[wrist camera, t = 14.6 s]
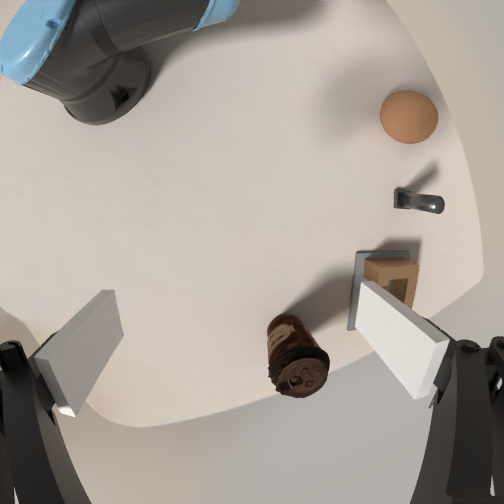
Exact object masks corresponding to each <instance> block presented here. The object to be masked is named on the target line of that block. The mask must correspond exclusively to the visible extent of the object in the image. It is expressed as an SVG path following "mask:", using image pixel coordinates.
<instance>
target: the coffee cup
mask: <svg viewBox="0 0 504 504" xmlns="http://www.w3.org/2000/svg"><path fill="white" fill-rule="evenodd" d="M267 336H268V342H267V344H268V362H269V367H268V370H269V376H268V377H270V378H271V380H272V383H273V384H274V385H275V386H276V389H275V390H276V391H277V392H280V393H281V394H282V395H287V396H291V397H294V398H305V397H307V396H310V395H312V394H313V393H315V392H317V391H318V390H319V389H320V388H322V386H323V385H324V384H325V382H326V380H327V376H328V371H329V366H330V359H329V356H328V354H327V353H326V352H325V351H324V350H322V349H321V348H320V347H319V345H318V344H317V342H316V341H315V339H314V338H313V337H312V335H311V334H310V332H309V331H308V330H307V328H306V327H305V326H304V324H303V323H302V322H301V320H299V319H298V318H297V317H295V316H293V315H289V314H286V315H282V316H279V317H277V318H275V319H274V320H273V321H272V322H271V323H270V325H269V326H268V329H267Z"/></svg>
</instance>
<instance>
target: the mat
mask: <svg viewBox="0 0 504 504" xmlns="http://www.w3.org/2000/svg"><path fill="white" fill-rule="evenodd" d="M409 255H410V252H409V251H393V252H364V253H356V257H355V268H354V278H353V287H352V296H351V303H350V311H349V318H348V325H347V330H348V331H351V330H357V329H356V328H355V322H356V316H357V309H358V303H359V295H360V287H361V282H368V280H367V279H365V278H364V277H363V272H364V262H365V259H378V258H397V257H404V258H406V259H408V260H409ZM390 285H391V280H389V283H388V286H384V287H382V288H383V289H385V290H386V291H387V292H389V291H390Z"/></svg>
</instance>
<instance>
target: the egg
mask: <svg viewBox="0 0 504 504" xmlns="http://www.w3.org/2000/svg"><path fill="white" fill-rule="evenodd" d="M380 119H381V123H382V125H383V128H384V130H385V131H386V132H387V133H388V135H389V136H391V137H392V138H393V139H395V140H397V141H399V142H401V143H407V144H413V143H419V142H421V141H424V140H425V139H427V138H428V137H429V136H430V135H431V134H432V133H433V132H434V130H435V129H436V126H437V123H438V113H437V110H436V107H435V106H434V104H433V103H432V102H431V100H430V99H428V98H427V97H425V96H424V95H422V94H419V93H417V92H412V91H401V92H397V93H395V94H393V95H391V96H389V97H388V98H387V99H386V100H385V102H384V103H383V105H382V107H381V111H380Z"/></svg>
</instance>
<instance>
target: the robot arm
mask: <svg viewBox="0 0 504 504" xmlns="http://www.w3.org/2000/svg"><path fill="white" fill-rule="evenodd" d="M239 3H240V0H27V1H26V2H25V3H24V4H23V5H22V6H21V7H20V9H19V10H18V11H17V12H16V14H15V15H14V17H13V18H12V20H11V21H10V23H9V25H8V26H7V28H6V30H5V32H4V34H3V36H2V39H1V41H0V72H1V73H2V74H3V75H4V76H6V77H8V78H10V79H11V80H13V81H14V82H15V83H17V84H18V85H23V86H26V87H28V88H31V89H34V90H36V91H39V92H41V93H44V94H47V95H49V96H52V97H54V98H57V99H59V100H60V101H61V103H62V104H63V105H64V106H65V108H66V110H67V112H68V113H69V114H70V115H71V116H72V117H73V118H74V119H76V120H78V121H80V122H83V123H85V124H89V125H102V124H106V123H109V122H112V121H114V120H116V119H118V118H120V117H121V116H123V115H124V114H125V113H127V112H128V111H129V110H130V109H131V108H132V107H133V106H134V105H135V104H136V103H137V102H138V101H139V99H140V98H141V96H142V95H143V93H144V91H145V89H146V87H147V85H148V82H149V78H150V62H149V59H148V57H147V55H146V53H145V52H144V50H143V49H142V48H141V46H144V45H146V44H149V43H152V42H155V41H158V40H161V39H164V38H167V37H171V36H174V35H177V34H181V33H184V32H188V31H192V32H193V31H197V30H199V29H200V28H202V27H205V26H209V25H213V24H217V23H221V22H224V21H226V20H228V19H229V18H230V17H231V16H232V15H233V14H234V13H235V11H236V10H237V8H238V6H239ZM355 328H356V329H357V330H358V331H359V332H360V333H361V335H362V336H363V337H364V338H365V339H366V341H367V342H368V343H369V344H370V345H371V347H372V348H373V349H374V350H375V351H376V353H377V354H378V355H379V356H380V357H381V358H382V360H383V361H384V362H385V363H386V365H387V366H388V367H389V368H390V370H391V371H392V372H393V373H394V374H395V376H396V377H397V378H398V380H399V381H400V382H401V383H402V384H403V386H404V387H405V388H406V389H407V391H408V392H409V393H410V394H411V396H412V397H413V398H414V400H416V399H418V398H421V397H424V396H426V395H428V394H429V392H430V390H431V388H432V385H433V383H434V384H435V386H436V387H438V389H437V391H436V393H435V395H434V397H433V399H432V401H431V403H430V406H429V408H431V406H432V405H433V404H434V406H433V413H432V419H431V425H430V431H429V436H428V441H427V446H426V450H425V455H424V459H423V463H422V467H421V470H420V474H419V477H418V480H417V484H416V487H415V490H414V493H413V496H412V499H411V502H410V504H504V337H503V336H501V337H499V336H497V337H494V338H492V340H491V343H490V346H489V348H481V347H480V346H479V345H478V344H477V343H475V342H473V341H470V340H459V341H456V340H454V339H453V338H452V337H450V336H449V335H448V334H447V333H445V332H444V331H443V330H440V328H439V327H438V326H435V324H433V323H432V322H431V321H430V320H428V319H426V318H424V317H421V316H420V315H418V314H417V313H416V312H414V311H413V310H412V309H410V308H409V307H408V306H406V305H405V304H404V303H402V302H401V301H400V300H398V299H397V298H396V297H394V296H393V295H392V294H390V293H389V292H387V291H386V290H385V289H383V288H382V287H381V286H379V285H378V284H376V283H375V282H374V281H368V282H361V287H360V295H359V303H358V309H357V316H356V322H355ZM123 336H124V334H123V330H122V326H121V321H120V317H119V312H118V307H117V302H116V297H115V291H114V290H102V291H100V292H99V293H98V294H97V295H96V296H95V297H94V298H93V299H92V300H91V301H90V302H88V303H87V304H86V305H85V306H84V307H83V308H82V309H81V310H80V311H79V312H78V313H77V314H76V315H75V316H74V317H73V318H72V319H71V320H70V321H69V322H68V323H66V324H65V325H64V326H63V327H62V328H61V329H60V330H59V331H57V332H56V333H54V334H52V335H51V336H50V337H49V338H48V339H47V340H46V342H44V343H43V344H42V345H41V347H39V348H38V349H37V350H36V351H35V352H34V353H33V354H32V355H31V356H30V357H29V358H28V359H27V358H26V355H25V353H24V350H23V348H22V345H21V343H20V342H19V341H14V340H13V341H7V342H4V343H2V344H1V345H0V366H1V368H2V370H0V504H15V497H14V487H15V491H16V495H17V498H18V502H19V504H92V503H91V502H90V500H89V498H88V496H87V494H86V492H85V490H84V488H83V486H82V484H81V482H80V480H79V478H78V476H77V473H76V471H75V469H74V466H73V464H72V462H71V459H70V457H69V454H68V452H67V449H66V446H65V444H64V441H63V438H62V435H61V432H60V429H59V426H58V423H57V419H56V416H55V413H54V412H53V410H52V407H53V405H54V404H55V403H56V405H57V406H58V408H59V410H60V412H61V413H63V414H66V415H70V416H73V417H76V416H77V414H78V413H79V411H80V409H81V407H82V405H83V403H84V402H85V400H86V398H87V396H88V394H89V393H90V391H91V389H92V387H93V386H94V384H95V382H96V380H97V379H98V377H99V375H100V374H101V372H102V370H103V369H104V367H105V365H106V364H107V362H108V360H109V359H110V357H111V355H112V354H113V352H114V350H115V349H116V347H117V346H118V344H119V342H120V341H121V339H122V338H123ZM500 378H502V385H501V387H500V389H498V388H497V384H498V382H499V380H500ZM491 477H493V484H494V492H495V496H492V495H491V494H490V488H491Z"/></svg>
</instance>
